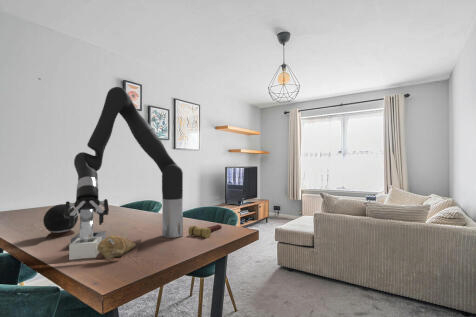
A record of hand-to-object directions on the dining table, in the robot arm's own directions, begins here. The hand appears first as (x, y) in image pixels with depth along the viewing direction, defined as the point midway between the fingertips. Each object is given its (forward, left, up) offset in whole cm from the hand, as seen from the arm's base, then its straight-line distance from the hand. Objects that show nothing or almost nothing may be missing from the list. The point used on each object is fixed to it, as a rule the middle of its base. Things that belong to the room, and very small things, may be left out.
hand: (86, 225), depth 90 cm
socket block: (+3, -14, -11) cm, 18 cm away
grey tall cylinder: (0, 0, -8) cm, 8 cm away
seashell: (-11, +2, -12) cm, 16 cm away
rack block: (0, 0, -11) cm, 11 cm away
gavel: (-48, -22, -12) cm, 54 cm away
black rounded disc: (+20, -33, -12) cm, 40 cm away
